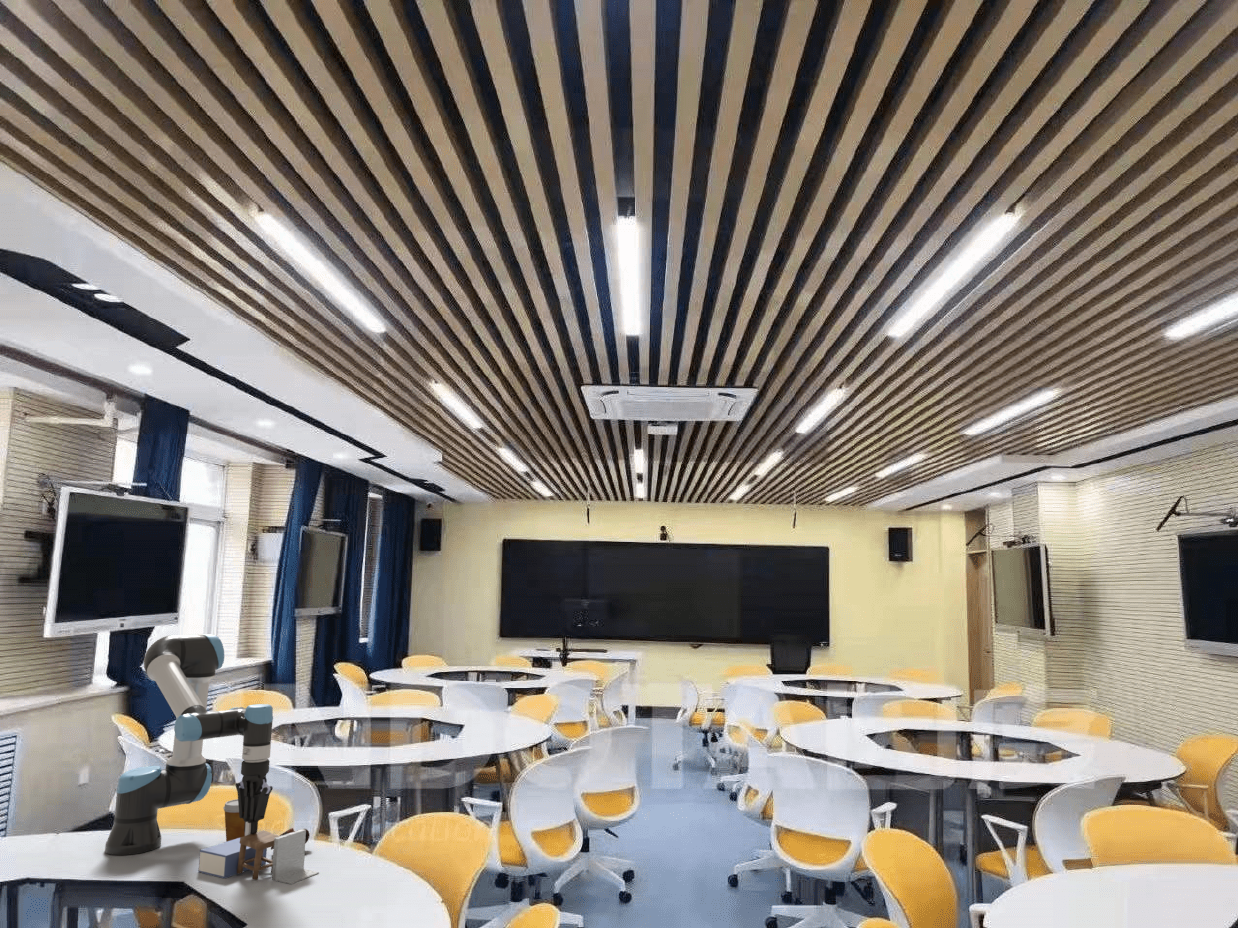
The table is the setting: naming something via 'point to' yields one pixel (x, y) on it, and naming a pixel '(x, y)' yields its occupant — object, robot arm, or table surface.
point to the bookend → (290, 858)
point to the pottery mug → (294, 831)
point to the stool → (259, 843)
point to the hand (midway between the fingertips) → (249, 844)
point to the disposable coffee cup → (233, 821)
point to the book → (224, 858)
